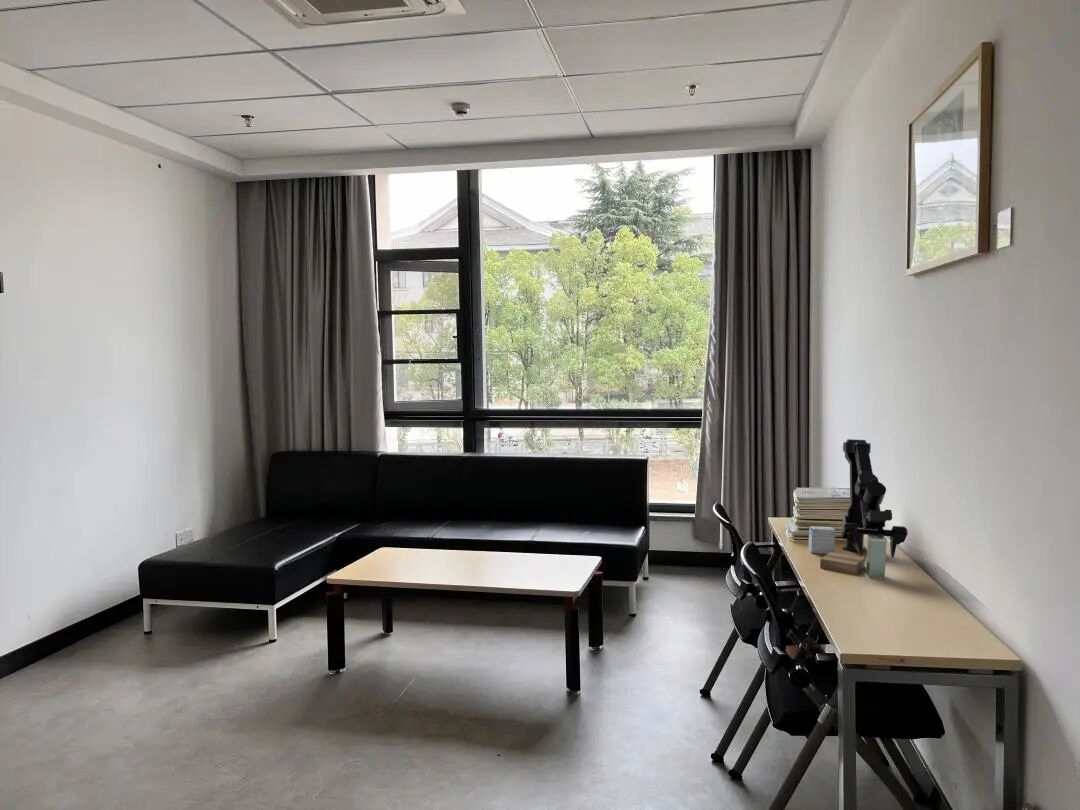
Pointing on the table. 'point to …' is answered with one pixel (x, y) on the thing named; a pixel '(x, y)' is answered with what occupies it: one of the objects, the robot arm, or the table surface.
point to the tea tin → (876, 556)
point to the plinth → (842, 562)
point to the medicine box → (821, 540)
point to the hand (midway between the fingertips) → (877, 556)
